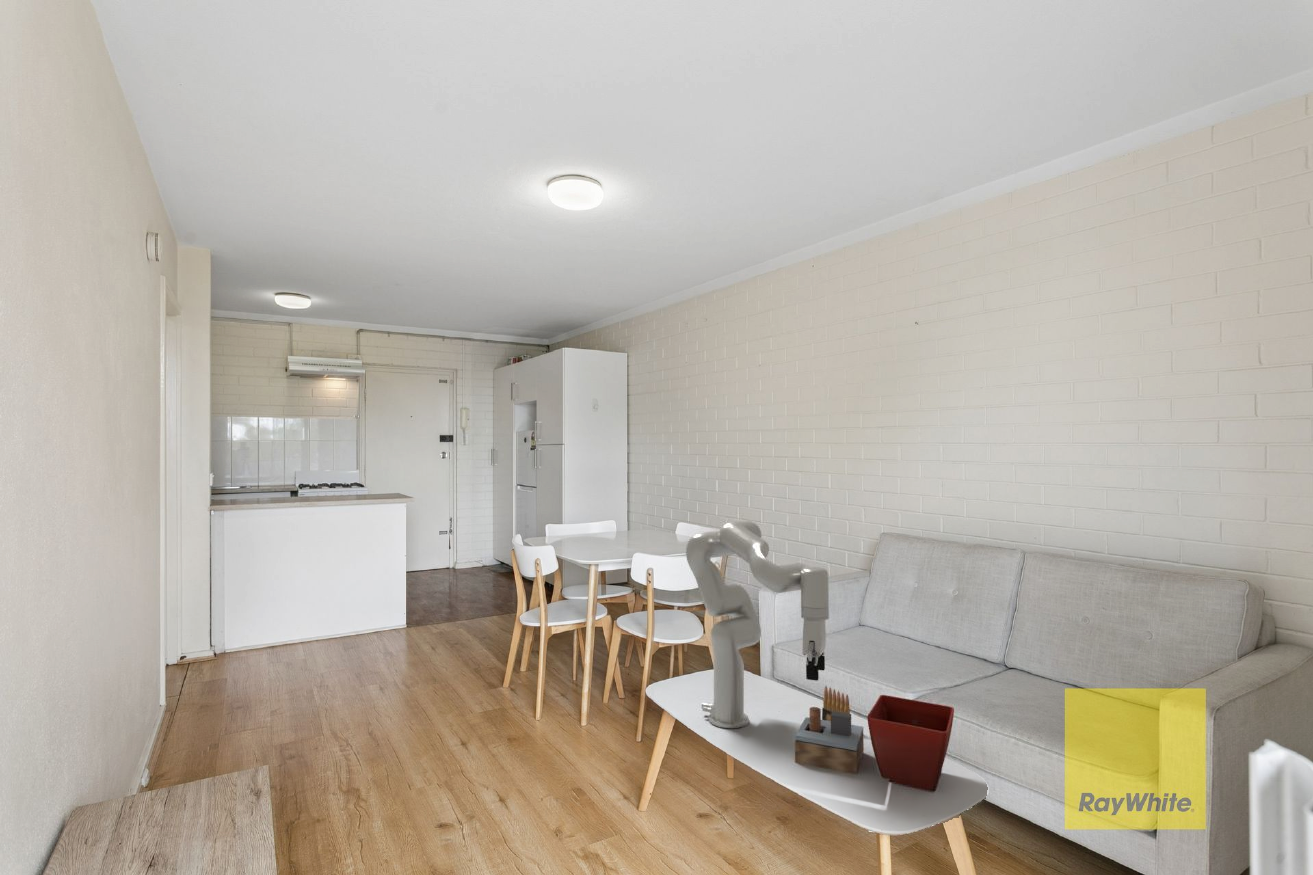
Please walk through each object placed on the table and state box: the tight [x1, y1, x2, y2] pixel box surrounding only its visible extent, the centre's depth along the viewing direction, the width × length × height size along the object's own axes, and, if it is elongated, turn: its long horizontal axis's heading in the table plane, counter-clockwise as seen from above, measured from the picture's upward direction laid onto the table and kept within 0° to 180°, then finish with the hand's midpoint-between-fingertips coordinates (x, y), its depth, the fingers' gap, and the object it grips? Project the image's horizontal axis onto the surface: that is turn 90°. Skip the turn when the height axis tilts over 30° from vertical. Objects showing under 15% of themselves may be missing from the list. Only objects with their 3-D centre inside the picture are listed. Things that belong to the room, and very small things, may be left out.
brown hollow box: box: [794, 728, 865, 776], centre depth 182 cm, size 16×14×7 cm
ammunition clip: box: [821, 685, 851, 721], centre depth 204 cm, size 11×2×12 cm, turn 30°
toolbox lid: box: [794, 711, 864, 751], centre depth 182 cm, size 16×14×6 cm
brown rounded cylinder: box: [809, 706, 822, 733], centre depth 184 cm, size 3×3×12 cm
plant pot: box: [866, 694, 955, 793], centre depth 173 cm, size 19×19×17 cm
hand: (815, 674), depth 184 cm, fingers open, 9 cm apart
